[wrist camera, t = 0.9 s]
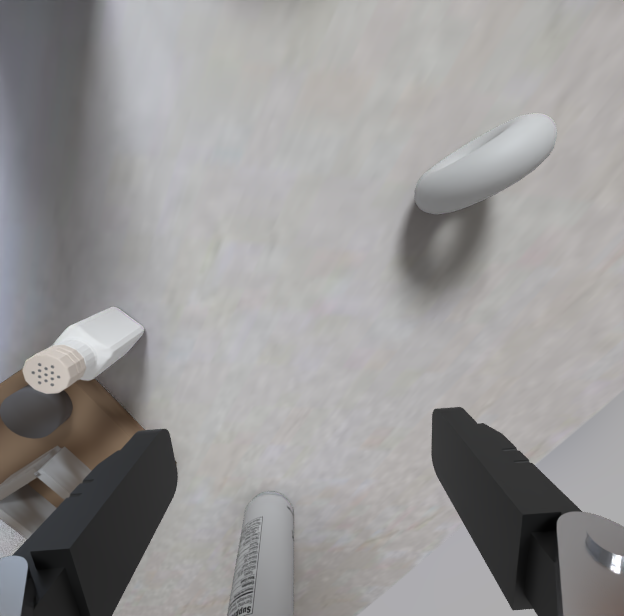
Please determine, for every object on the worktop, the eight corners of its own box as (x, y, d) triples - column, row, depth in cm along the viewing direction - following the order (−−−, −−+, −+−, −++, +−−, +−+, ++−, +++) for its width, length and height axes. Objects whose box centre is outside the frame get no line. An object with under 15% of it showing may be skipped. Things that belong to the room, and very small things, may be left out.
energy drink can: (276, 531, 39) (265, 713, 24) (236, 512, 37) (200, 692, 23) (303, 500, 38) (308, 672, 23) (263, 480, 36) (243, 648, 22)
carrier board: (-52, 421, 32) (-114, 456, 27) (61, 344, 30) (17, 367, 25) (73, 524, 36) (39, 570, 32) (176, 462, 35) (157, 500, 30)
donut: (408, 223, 29) (465, 223, 19) (391, 192, 28) (442, 175, 18) (499, 163, 28) (607, 130, 18) (485, 128, 27) (590, 75, 17)
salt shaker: (115, 302, 29) (34, 337, 20) (149, 327, 30) (87, 372, 21) (92, 330, 30) (4, 376, 21) (126, 354, 31) (56, 409, 22)
